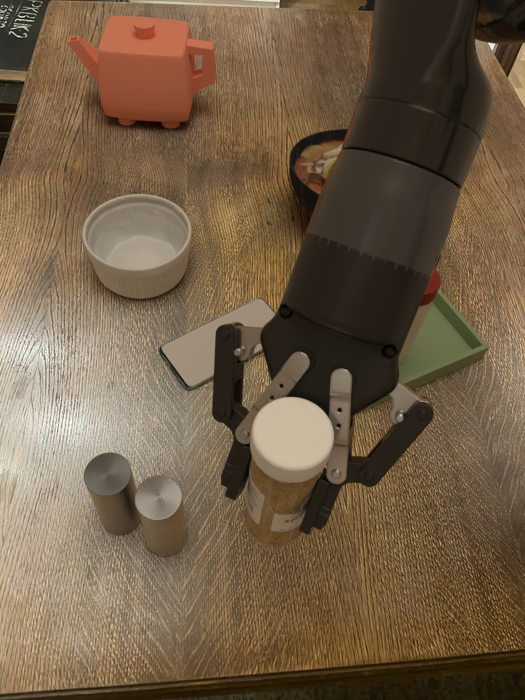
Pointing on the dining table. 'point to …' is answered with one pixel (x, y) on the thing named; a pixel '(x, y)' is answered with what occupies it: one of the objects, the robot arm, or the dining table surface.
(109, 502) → the grey tin
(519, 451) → the dining table surface
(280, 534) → the sprinkles bottle
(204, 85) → the teapot
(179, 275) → the ramekin
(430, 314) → the tray
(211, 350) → the smartphone
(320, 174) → the bowl
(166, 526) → the grey tin
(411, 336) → the spice bottle
